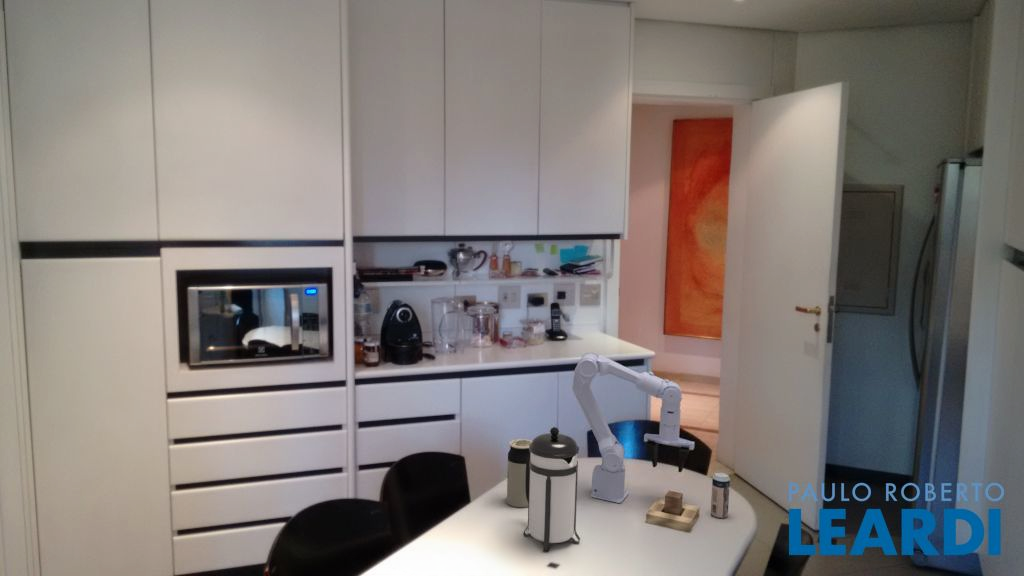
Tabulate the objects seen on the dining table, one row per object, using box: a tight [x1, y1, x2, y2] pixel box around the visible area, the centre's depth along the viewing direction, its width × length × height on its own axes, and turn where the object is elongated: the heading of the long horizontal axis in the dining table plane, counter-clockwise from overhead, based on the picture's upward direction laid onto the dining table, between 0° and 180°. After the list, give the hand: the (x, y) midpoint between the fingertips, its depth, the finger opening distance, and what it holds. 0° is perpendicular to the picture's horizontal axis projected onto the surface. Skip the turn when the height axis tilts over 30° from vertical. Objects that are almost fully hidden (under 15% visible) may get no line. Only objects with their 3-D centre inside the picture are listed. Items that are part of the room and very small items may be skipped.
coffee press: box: [522, 426, 581, 553], centre depth 176 cm, size 17×16×30 cm
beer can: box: [710, 471, 731, 519], centre depth 193 cm, size 5×5×12 cm
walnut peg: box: [664, 490, 684, 516], centre depth 190 cm, size 4×4×7 cm
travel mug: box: [506, 438, 533, 508], centre depth 198 cm, size 8×8×18 cm
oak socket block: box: [645, 498, 701, 533], centre depth 191 cm, size 12×12×2 cm
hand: (667, 468), depth 201 cm, fingers open, 7 cm apart
